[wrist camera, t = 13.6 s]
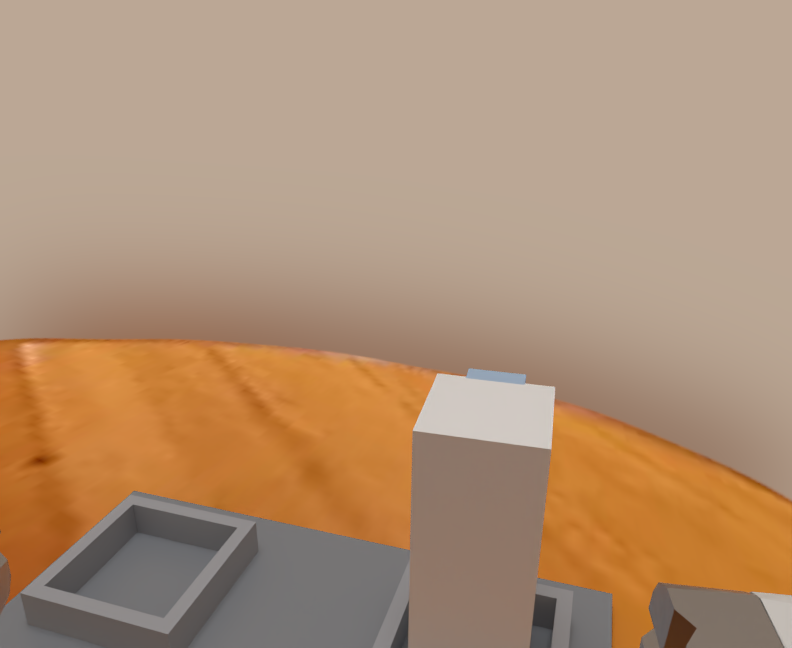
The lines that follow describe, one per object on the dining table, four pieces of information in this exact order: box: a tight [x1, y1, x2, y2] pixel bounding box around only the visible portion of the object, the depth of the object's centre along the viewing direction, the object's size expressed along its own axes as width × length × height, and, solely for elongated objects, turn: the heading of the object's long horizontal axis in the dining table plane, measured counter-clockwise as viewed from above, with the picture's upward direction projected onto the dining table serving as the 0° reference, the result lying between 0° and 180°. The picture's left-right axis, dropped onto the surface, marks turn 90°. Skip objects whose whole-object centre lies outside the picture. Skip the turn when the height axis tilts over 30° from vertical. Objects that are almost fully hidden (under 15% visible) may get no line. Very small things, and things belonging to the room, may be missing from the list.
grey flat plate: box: [0, 491, 612, 648], centre depth 27 cm, size 24×11×2 cm, turn 73°
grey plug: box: [408, 369, 555, 648], centre depth 24 cm, size 4×5×11 cm
